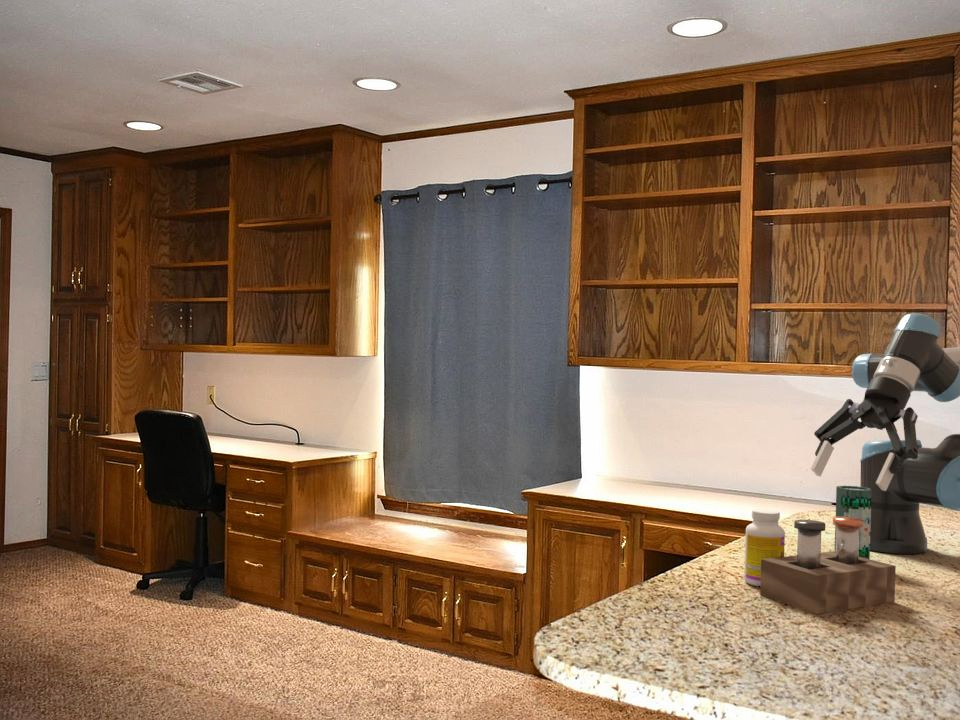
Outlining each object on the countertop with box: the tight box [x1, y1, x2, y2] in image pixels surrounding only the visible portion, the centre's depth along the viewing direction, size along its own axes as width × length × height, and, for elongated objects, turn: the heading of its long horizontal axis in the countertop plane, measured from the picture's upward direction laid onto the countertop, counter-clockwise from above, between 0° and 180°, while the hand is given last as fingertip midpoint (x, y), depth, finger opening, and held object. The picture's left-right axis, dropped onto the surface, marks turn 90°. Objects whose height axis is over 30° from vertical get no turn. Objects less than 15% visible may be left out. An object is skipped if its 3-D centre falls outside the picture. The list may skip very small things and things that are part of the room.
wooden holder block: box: [759, 550, 897, 615], centre depth 150 cm, size 18×12×6 cm, turn 118°
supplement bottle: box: [743, 508, 786, 588], centre depth 159 cm, size 7×7×13 cm
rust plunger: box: [832, 516, 863, 565], centre depth 153 cm, size 5×5×9 cm
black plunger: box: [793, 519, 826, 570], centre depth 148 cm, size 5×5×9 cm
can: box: [834, 485, 872, 560], centre depth 176 cm, size 6×6×15 cm
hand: (846, 479), depth 168 cm, fingers open, 13 cm apart
